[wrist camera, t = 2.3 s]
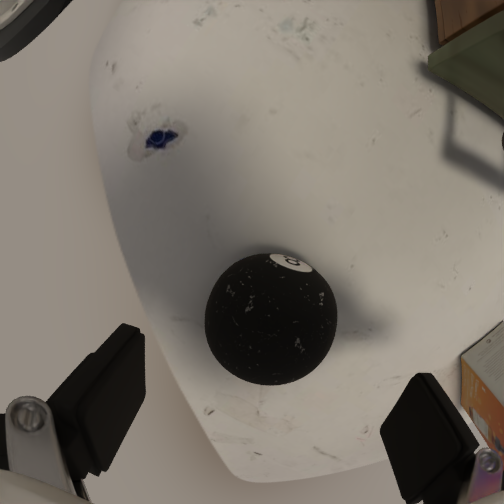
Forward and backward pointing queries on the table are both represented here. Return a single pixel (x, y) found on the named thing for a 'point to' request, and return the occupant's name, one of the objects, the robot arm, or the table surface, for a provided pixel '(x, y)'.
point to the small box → (486, 388)
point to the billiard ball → (270, 319)
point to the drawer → (472, 49)
